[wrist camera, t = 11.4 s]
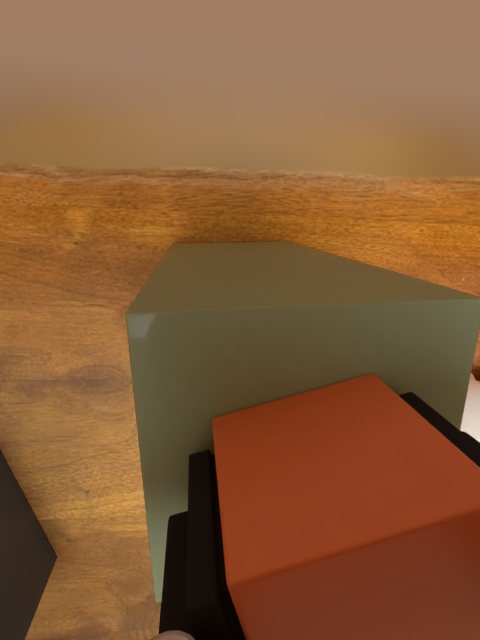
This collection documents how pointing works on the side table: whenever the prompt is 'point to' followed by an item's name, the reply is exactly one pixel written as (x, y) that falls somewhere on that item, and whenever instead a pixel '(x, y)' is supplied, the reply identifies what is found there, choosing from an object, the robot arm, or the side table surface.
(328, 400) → the block
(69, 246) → the side table surface
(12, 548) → the cabinet
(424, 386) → the stand
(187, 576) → the robot arm
